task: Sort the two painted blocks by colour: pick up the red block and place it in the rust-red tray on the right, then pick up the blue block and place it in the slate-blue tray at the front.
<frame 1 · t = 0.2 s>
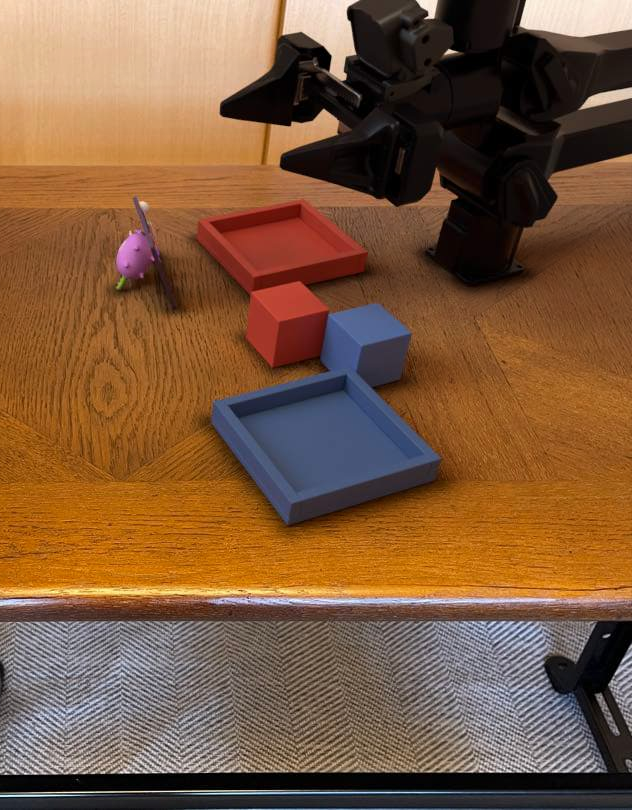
hand: (249, 134, 68), 17 cm above the table, tool horizontal, fingers open, 9 cm apart
red tray: (277, 254, 87), on the table
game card: (141, 286, 83), on the table
blue tray: (318, 450, 66), on the table
red block: (282, 346, 76), on the table
blue block: (359, 370, 73), on the table, touching blue tray
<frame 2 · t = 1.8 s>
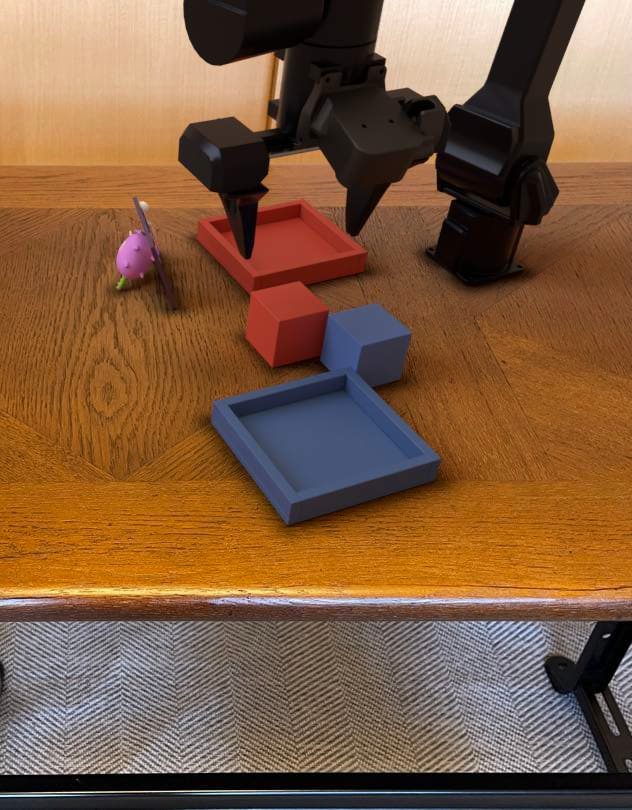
hand: (299, 245, 70), 9 cm above the table, tool pointing down, fingers open, 9 cm apart
nothing on the table moved.
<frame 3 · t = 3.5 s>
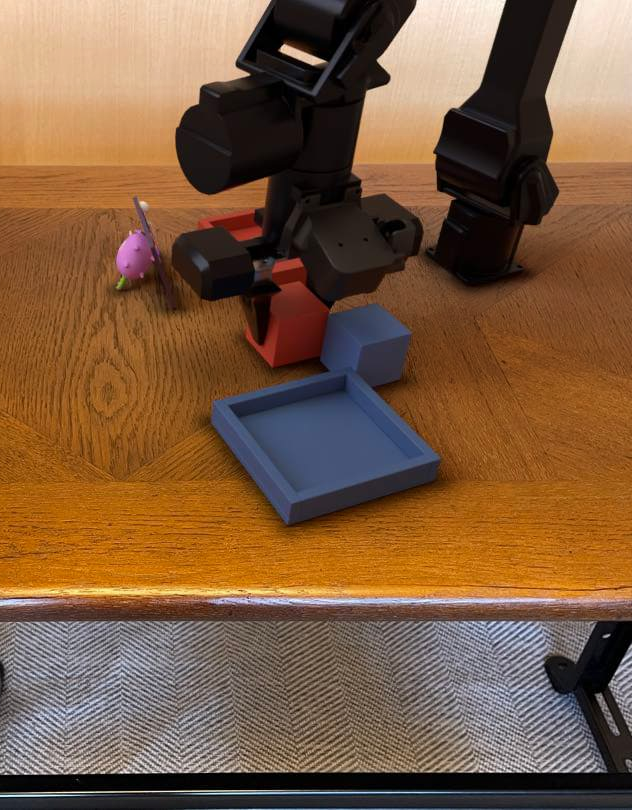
hand: (284, 336, 75), 1 cm above the table, tool pointing down, fingers closed on red block, 4 cm apart
red block: (282, 346, 76), on the table, touching gripper
everything else where it was.
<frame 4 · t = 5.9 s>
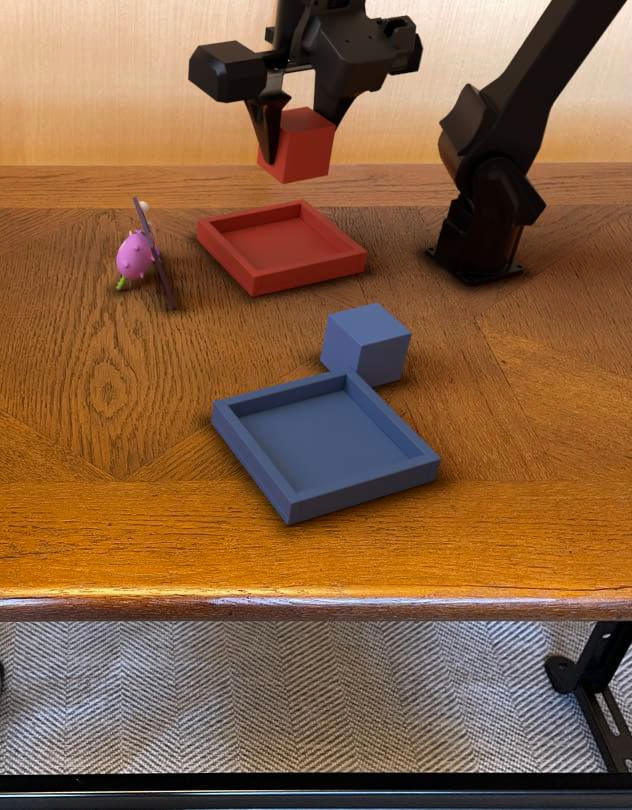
hand: (293, 158, 80), 10 cm above the table, tool pointing down, fingers closed on red block, 4 cm apart
red block: (291, 169, 81), point 9 cm above the table, touching gripper
everything else where it was.
when the fingers open (2 cm above the table, at t = 8.3 s): red block stays where it is, resting on red tray.
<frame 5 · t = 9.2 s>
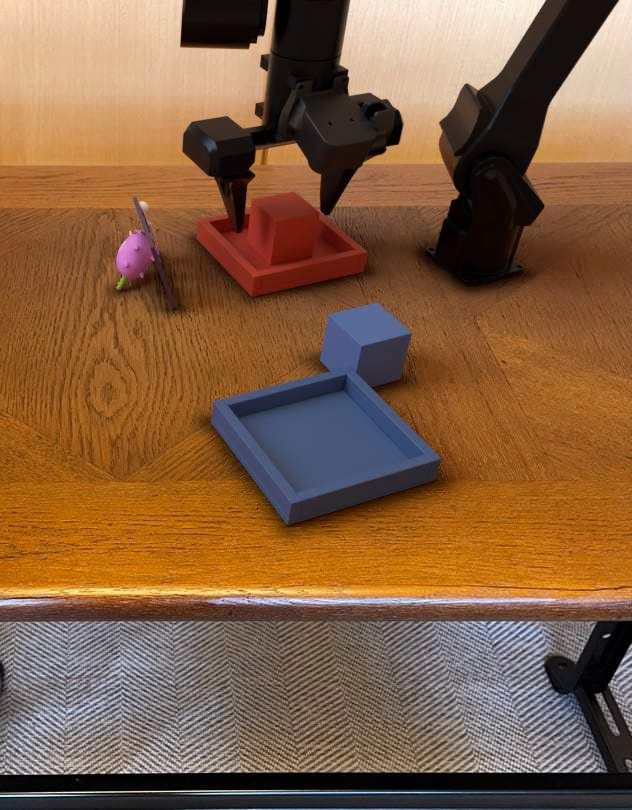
hand: (281, 222, 85), 3 cm above the table, tool pointing down, fingers open, 9 cm apart
red block: (279, 249, 87), point 1 cm above the table, touching red tray
everything else where it was.
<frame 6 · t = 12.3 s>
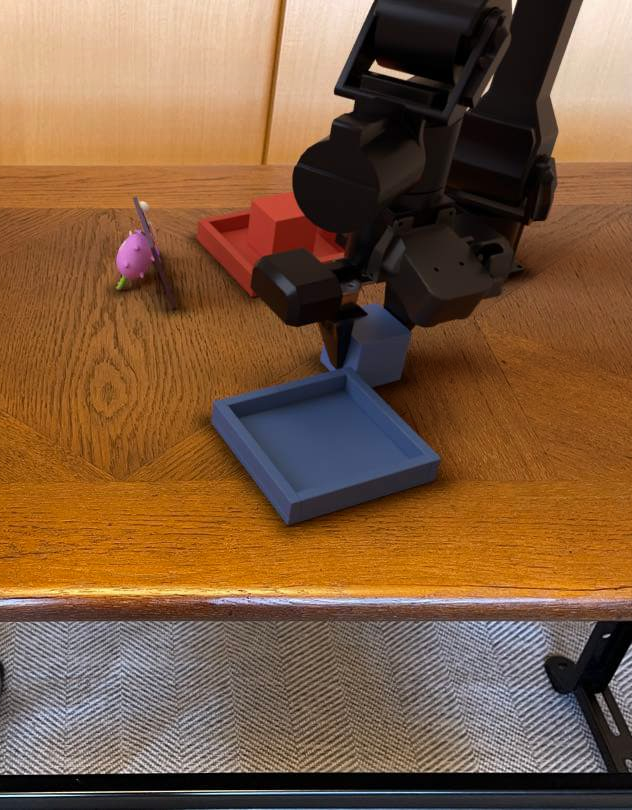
hand: (361, 360, 73), 1 cm above the table, tool pointing down, fingers closed on blue block, 4 cm apart
blue block: (359, 370, 73), on the table, touching gripper
everything else where it was.
when the fingers open (2 cm above the table, at t = 17.0 s): blue block stays where it is, resting on blue tray.
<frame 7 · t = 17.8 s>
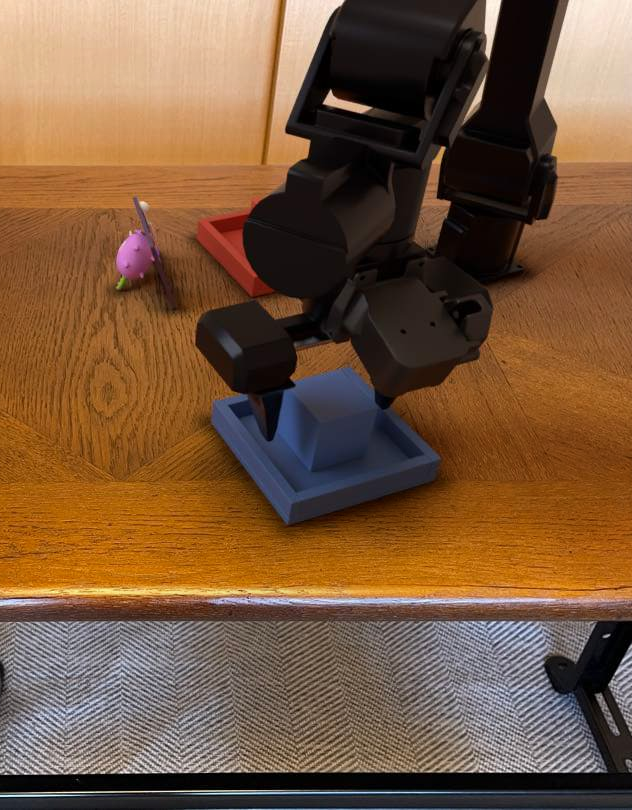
hand: (324, 421, 64), 3 cm above the table, tool pointing down, fingers open, 9 cm apart
blue block: (320, 444, 66), point 1 cm above the table, touching blue tray
everything else where it was.
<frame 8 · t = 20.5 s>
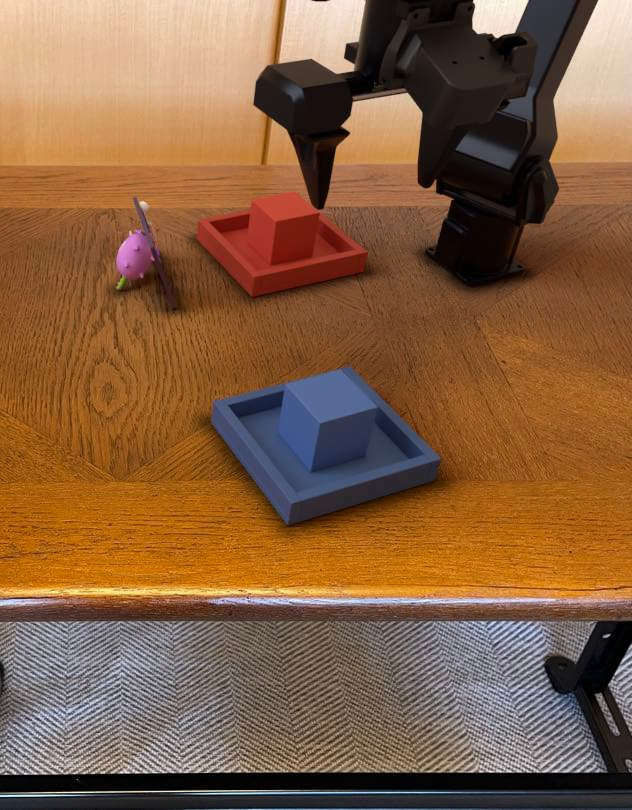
hand: (371, 196, 68), 13 cm above the table, tool pointing down, fingers open, 9 cm apart
nothing on the table moved.
at the end: red block inside the target area in the red tray (0.1 cm from its centre), point 0.6 cm above the red tray's base; blue block inside the target area in the blue tray (0.1 cm from its centre), point 0.6 cm above the blue tray's base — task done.
